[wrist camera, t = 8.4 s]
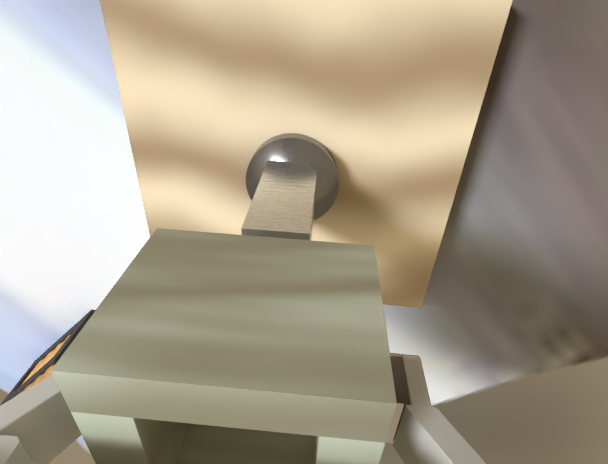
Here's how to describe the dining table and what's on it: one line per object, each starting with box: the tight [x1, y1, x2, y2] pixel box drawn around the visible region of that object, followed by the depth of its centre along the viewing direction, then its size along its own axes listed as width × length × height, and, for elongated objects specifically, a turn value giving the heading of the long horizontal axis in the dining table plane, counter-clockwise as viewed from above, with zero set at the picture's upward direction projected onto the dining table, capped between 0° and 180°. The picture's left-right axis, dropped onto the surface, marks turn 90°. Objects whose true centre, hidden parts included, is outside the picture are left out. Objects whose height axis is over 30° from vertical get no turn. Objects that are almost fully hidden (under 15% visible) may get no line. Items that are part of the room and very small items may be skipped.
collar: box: [51, 228, 397, 464], centre depth 11 cm, size 6×6×5 cm
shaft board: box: [100, 0, 513, 307], centre depth 19 cm, size 18×18×9 cm
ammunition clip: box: [0, 310, 95, 406], centre depth 28 cm, size 11×2×12 cm, turn 133°
